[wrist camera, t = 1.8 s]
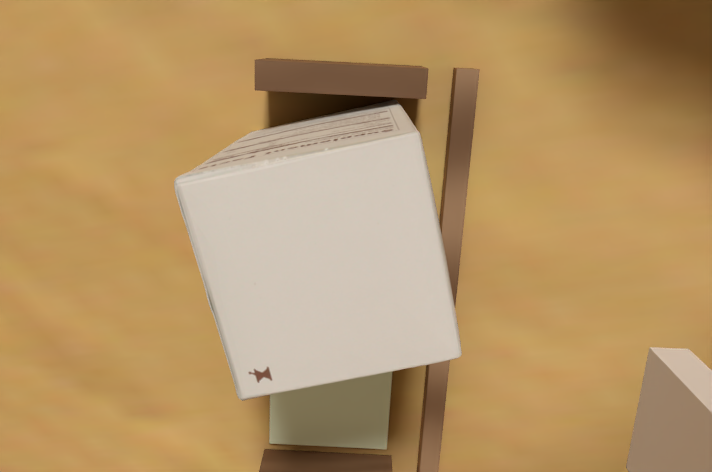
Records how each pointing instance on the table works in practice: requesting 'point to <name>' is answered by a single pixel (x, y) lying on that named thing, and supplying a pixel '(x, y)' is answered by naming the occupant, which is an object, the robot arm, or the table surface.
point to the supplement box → (322, 251)
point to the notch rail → (403, 81)
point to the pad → (334, 414)
